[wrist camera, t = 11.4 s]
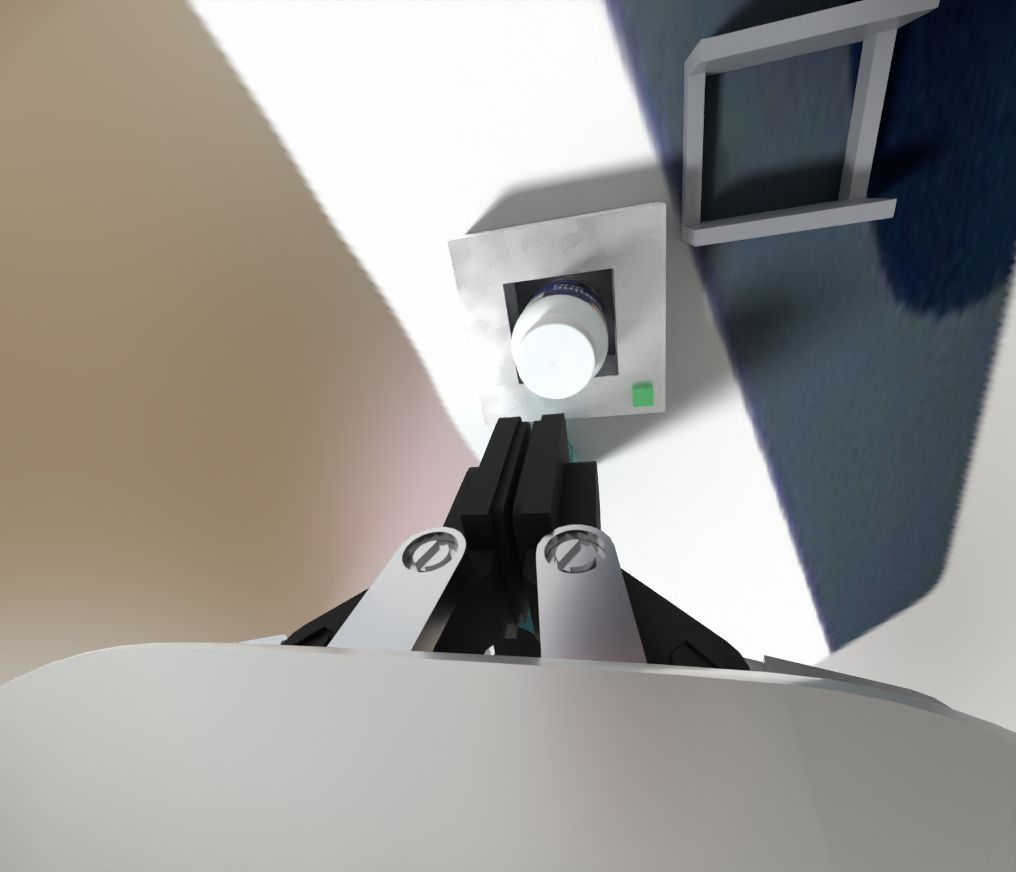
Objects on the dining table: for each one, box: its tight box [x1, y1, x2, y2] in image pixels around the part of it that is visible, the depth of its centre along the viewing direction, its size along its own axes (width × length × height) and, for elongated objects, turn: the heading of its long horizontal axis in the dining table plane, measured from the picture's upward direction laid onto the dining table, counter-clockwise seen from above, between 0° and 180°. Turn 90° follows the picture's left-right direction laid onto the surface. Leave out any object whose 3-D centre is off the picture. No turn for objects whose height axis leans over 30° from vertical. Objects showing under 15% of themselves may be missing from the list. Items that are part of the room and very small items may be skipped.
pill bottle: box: [511, 278, 608, 399], centre depth 26 cm, size 5×5×10 cm
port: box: [448, 202, 666, 425], centre depth 28 cm, size 12×12×5 cm
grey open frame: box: [681, 0, 940, 247], centre depth 22 cm, size 9×9×4 cm
